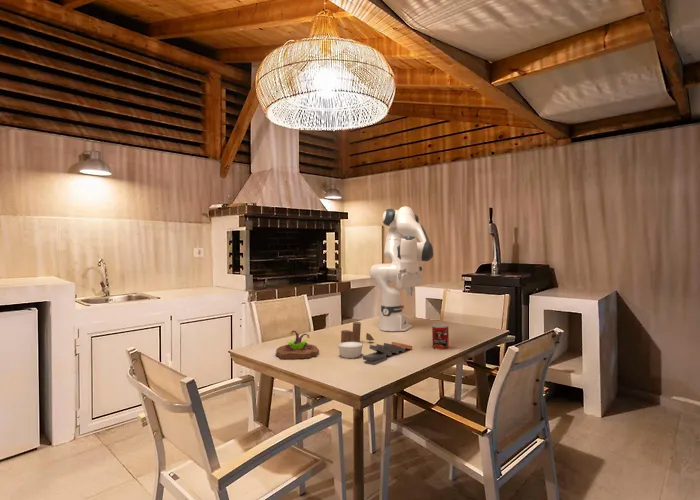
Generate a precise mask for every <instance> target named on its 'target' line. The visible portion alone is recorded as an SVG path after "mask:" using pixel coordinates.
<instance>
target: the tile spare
mask: <svg viewBox="0 0 700 500" xmlns="http://www.w3.org/2000/svg"><path fill="white" fill-rule="evenodd" d="M391 344H392V345H395V346H398V347H402V348H405V349H407V350H413V346H412V345H410V344H405V343H401V342H395V341H391Z"/></svg>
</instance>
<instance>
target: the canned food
mask: <svg viewBox="0 0 700 500" xmlns="http://www.w3.org/2000/svg"><path fill="white" fill-rule="evenodd" d="M431 331H432V334H431V335H432V348H433V349H436V350H447V349H449V347H450V346H449V341H450V340H449V338H450V337H449V335H450V334H449V333H450V332H449V324H446V323H433V324H432V327H431Z"/></svg>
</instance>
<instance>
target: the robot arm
mask: <svg viewBox="0 0 700 500" xmlns="http://www.w3.org/2000/svg"><path fill="white" fill-rule="evenodd" d="M419 219H420V218H419V216H418V215H417V214H415V213H414V211H413V209H412V208H411V207H410V206H406V205H405V206H401V207H400V208H399V209H394V208H387V209H386V210H384V212H383V214H382V223H383V225H384V226H387V227H389V229H388V230H387V233H386V237H385V243H384V251H383V254H384V257H385V258H387V259H389V260H390V261H391V263H376V264H372V266H371V267H370V268H369V277H370V279H371V280H372V281H373V282H374V283H375V284H376V285H377V286H378V289H379V291H380V295H381V297H380V298H381V305H380V311H381V313H380V315H379V322H378V323H379V324H378V325H377V329H378V330H379V331H383V332H384V331H385V332H406V331H408V330H410V329H411V328H413V327H414V326H413V325H412V324H410V322H409V321H410V320H409V316H407V315H406V314H405V312H404V311H403V309H405V305H402V304H401V292H400V290H405V292H406V297H408V298H409V297H412V296H413V295H414V290H415V287H419V286H421V285H423V270H424V267H423V266H421V265H420V264H419V262H429V261H430V260H432V259H433V258H434V254H435V253H434V251H435V250H434V248H433V245H432V243H431V241H430V239H429V237H428V235H427V233H426V229H425V227H424V226H423V225H422V224H420V223H419ZM417 239H418V240H419V242H418V241H417ZM391 283H396V285H395V286H396V288H395V287H393V285H392V284H391Z"/></svg>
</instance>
